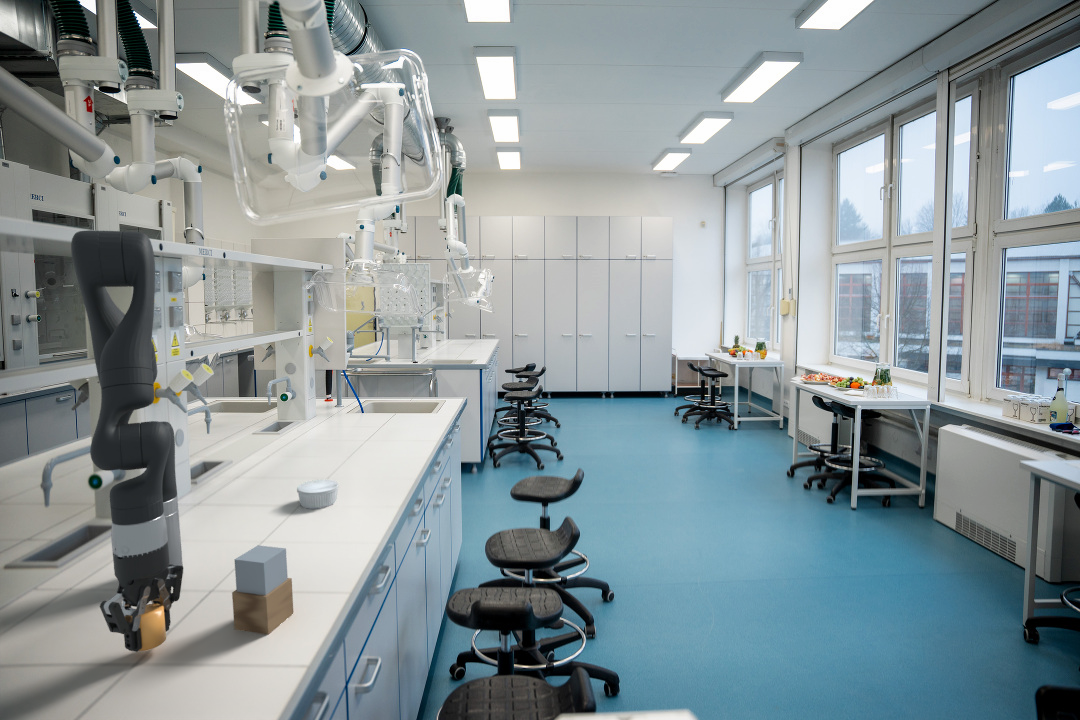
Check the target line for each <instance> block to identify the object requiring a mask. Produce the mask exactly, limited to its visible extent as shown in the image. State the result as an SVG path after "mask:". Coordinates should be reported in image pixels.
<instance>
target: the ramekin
mask: <svg viewBox="0 0 1080 720" xmlns="http://www.w3.org/2000/svg"><path fill="white" fill-rule="evenodd" d="M339 486H340V485H339V482H338V481H336V480H333V479H315V480H310V481H309V480H308V481H306V482H303V483H300V484H299V485H298V486H297V488H296V492H297V494H298V499H299V503H300V506H302V507H303V508H305V509H311V510H312V509H314V510H316V509H317V510H318V509H323V508H327V506H328V507H330V506H333V505H334V504H335V503H336V502H337V499H338V490H339Z"/></svg>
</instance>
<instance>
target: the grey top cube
mask: <svg viewBox="0 0 1080 720" xmlns="http://www.w3.org/2000/svg"><path fill="white" fill-rule="evenodd" d="M234 572H235V588H236V589H235V590H236V591H237V592H244V593H251V594H259V595H267V594H268V593H270V592H271V591H272V590H274V589H275V588H277V587H278V586H279V585H281V584H282V583H283V582H285V581H286V580H287V579H288V578H289V576H288V562H287V548H286V547H285V548H284V547H278V546H277V547H276V546H267V545H259V544H257V545H256V546H254V547H252V548H250V549H249V550H248V551H246V552H245V553H242V554H240V556H237V557H236V558H235V559H234Z"/></svg>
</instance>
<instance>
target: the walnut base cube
mask: <svg viewBox="0 0 1080 720" xmlns="http://www.w3.org/2000/svg"><path fill="white" fill-rule="evenodd" d="M231 594H232V595H231V597H232V612H233V626H234V627H233V628H234V630H236V631H240V632H241V631H243V632H249V633H256V634H261V635H268V636H269V635H270V634H271V633H272V632H274V631H275V630H276V629H277V628H278V627H279V626H281V625H282V624H284V623H285V622H286V621H287V620H288V619H289V618H290V617H292V614H293V613H294V600H293V599H294V598H293V578H291V577H288V579H287V580H286V581H285V582H283V583H282V584H281V585H279V586H278V587H277V588H275V589H274V590H272V591H271V592H270V593H268V594H267V595H259V594H251V593H244V592H237V591H236V589H235V590H234V591H232V592H231ZM293 615H294V614H293ZM287 618H288V619H287ZM286 619H287V620H286ZM281 623H282V624H281ZM280 624H281V625H280Z"/></svg>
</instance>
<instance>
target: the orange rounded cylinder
mask: <svg viewBox="0 0 1080 720" xmlns="http://www.w3.org/2000/svg"><path fill="white" fill-rule="evenodd" d="M135 609H137V607H135ZM130 622H132V616H131V619H130ZM139 628H140V629H141V640H142V649H140V650H139V651H138V652H144V651H150V650H153V649H155V648H157V647H159V646H161V645H163V643H164V642H165V641H166V640H167V632H166V629H165V617H164V606H163V605H161V604H152V603H148V604H147V605H146V608H145V613H144V614H143V615H142V616H141V620H140V625H139Z"/></svg>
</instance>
